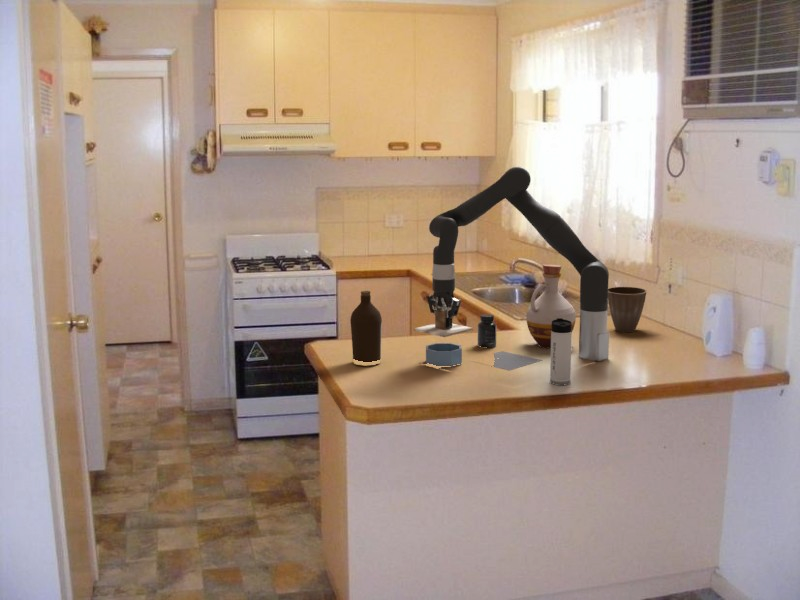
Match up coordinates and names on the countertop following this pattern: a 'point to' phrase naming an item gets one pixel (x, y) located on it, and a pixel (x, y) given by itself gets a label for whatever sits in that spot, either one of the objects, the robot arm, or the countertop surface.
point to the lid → (442, 326)
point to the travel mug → (560, 351)
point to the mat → (512, 360)
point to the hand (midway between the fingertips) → (443, 326)
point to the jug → (548, 307)
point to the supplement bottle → (487, 331)
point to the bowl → (444, 354)
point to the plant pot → (626, 307)
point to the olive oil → (366, 330)
